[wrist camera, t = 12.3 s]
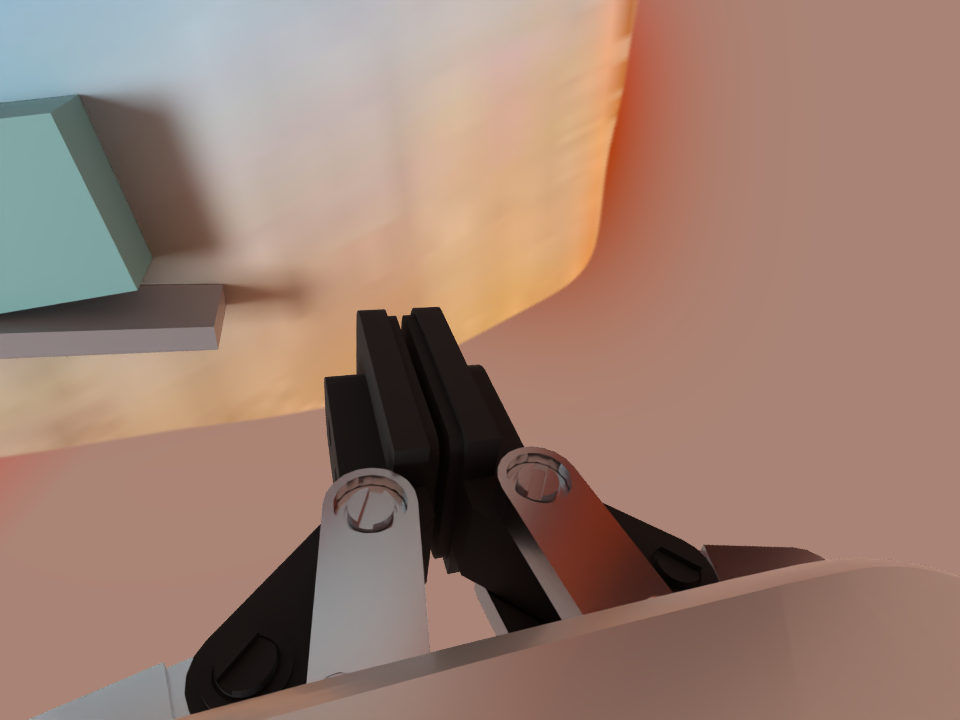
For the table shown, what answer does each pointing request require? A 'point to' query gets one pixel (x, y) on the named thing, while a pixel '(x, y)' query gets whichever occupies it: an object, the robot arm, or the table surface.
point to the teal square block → (61, 210)
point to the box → (119, 323)
